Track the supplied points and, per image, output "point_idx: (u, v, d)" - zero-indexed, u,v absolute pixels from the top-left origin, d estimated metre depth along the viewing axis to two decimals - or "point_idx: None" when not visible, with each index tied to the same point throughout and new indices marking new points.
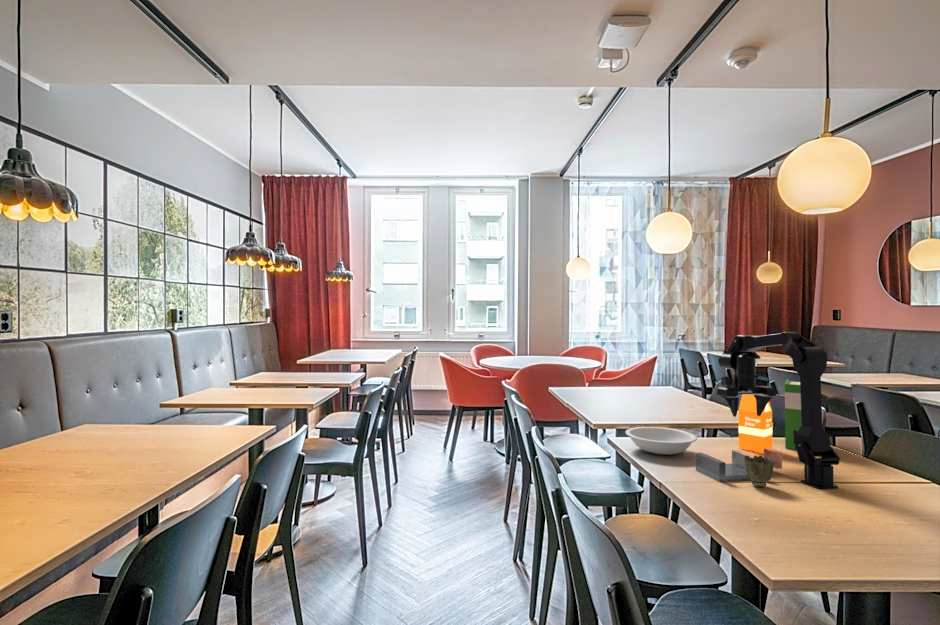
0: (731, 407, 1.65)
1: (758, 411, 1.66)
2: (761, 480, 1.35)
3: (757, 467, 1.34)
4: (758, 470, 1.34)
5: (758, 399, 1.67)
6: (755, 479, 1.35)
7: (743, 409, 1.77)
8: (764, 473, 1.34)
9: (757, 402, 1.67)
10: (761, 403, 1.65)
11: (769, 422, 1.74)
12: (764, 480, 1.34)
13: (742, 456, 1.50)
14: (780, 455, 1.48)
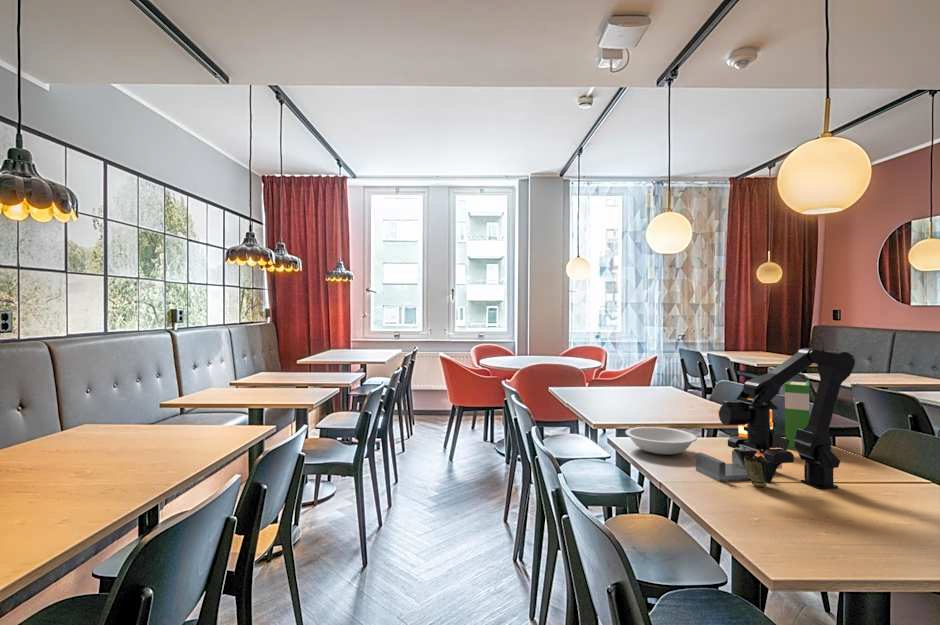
0: None
1: None
2: (761, 480, 1.35)
3: (757, 467, 1.34)
4: (758, 470, 1.34)
5: None
6: (755, 479, 1.35)
7: None
8: None
9: None
10: None
11: None
12: (764, 480, 1.34)
13: None
14: None
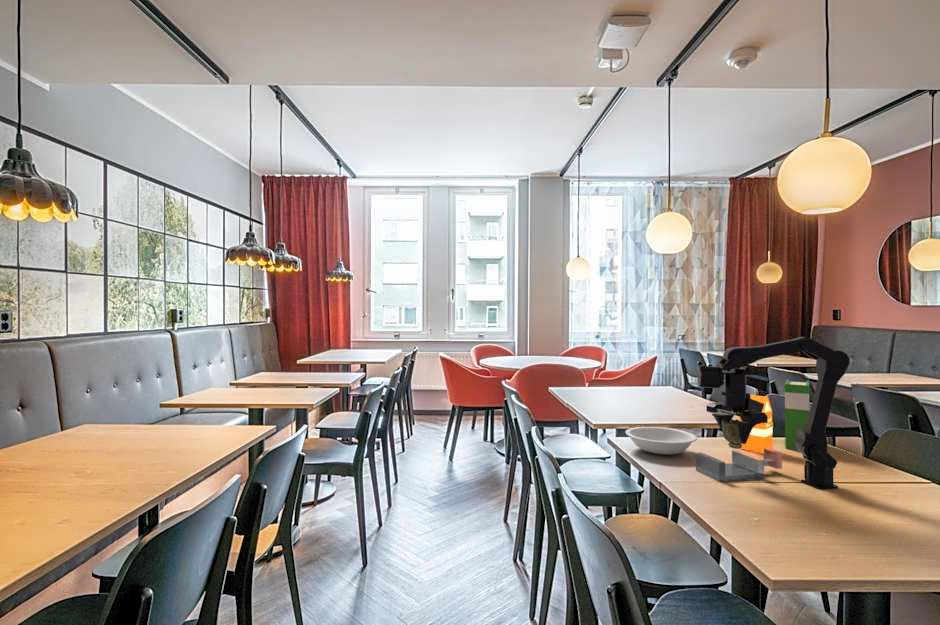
0: None
1: None
2: (737, 441, 1.42)
3: (733, 429, 1.41)
4: (735, 432, 1.41)
5: None
6: (731, 440, 1.42)
7: None
8: None
9: None
10: None
11: (769, 422, 1.74)
12: (740, 441, 1.41)
13: (742, 456, 1.50)
14: (780, 455, 1.48)
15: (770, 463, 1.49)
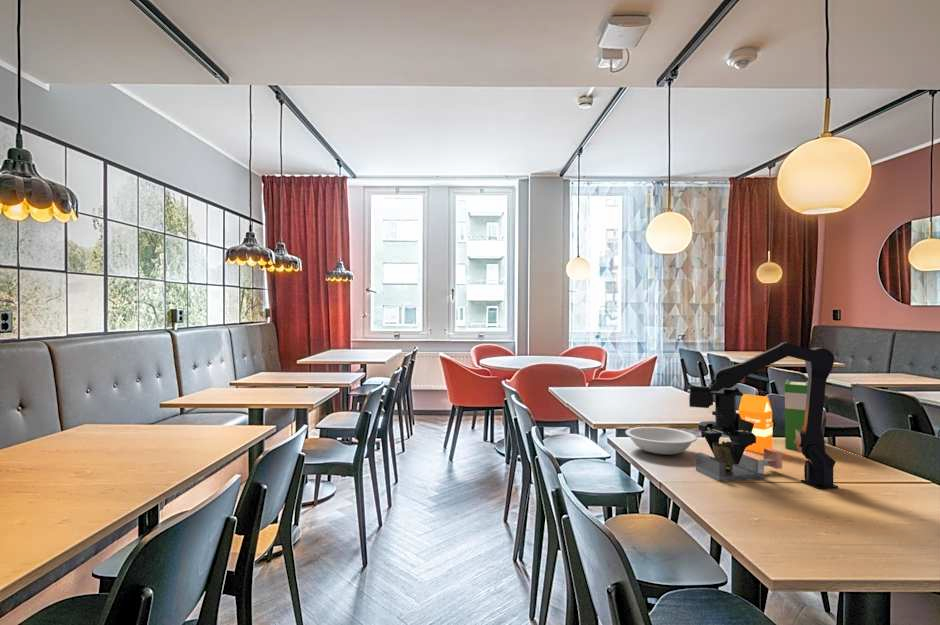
0: None
1: None
2: (727, 463, 1.45)
3: (723, 452, 1.45)
4: (725, 454, 1.45)
5: None
6: None
7: (743, 409, 1.77)
8: (730, 457, 1.44)
9: None
10: None
11: (769, 422, 1.74)
12: (730, 463, 1.45)
13: (742, 456, 1.50)
14: (780, 455, 1.48)
15: (770, 463, 1.49)
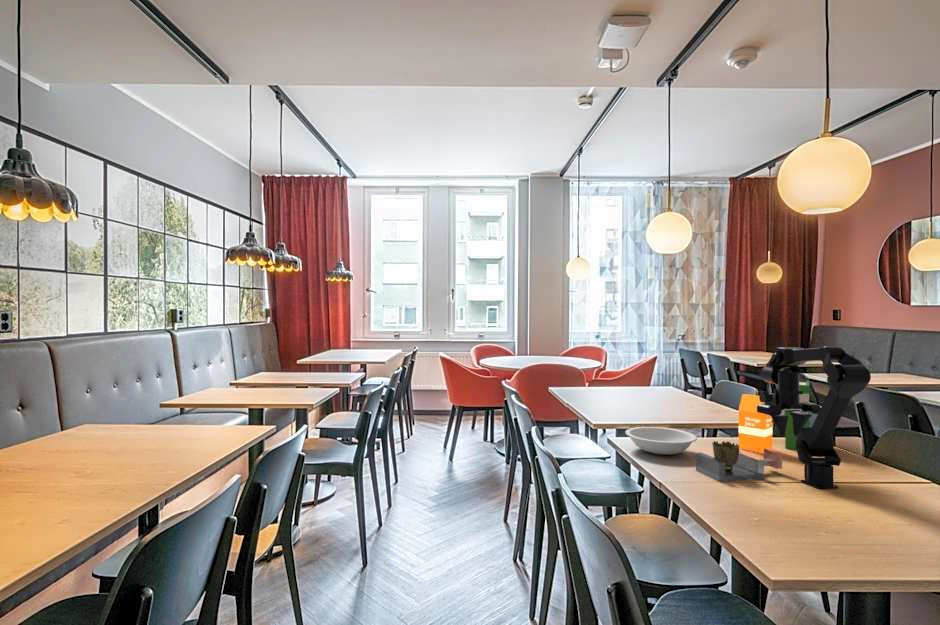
0: (779, 426, 1.51)
1: (795, 431, 1.52)
2: (727, 463, 1.45)
3: (723, 452, 1.45)
4: (725, 454, 1.45)
5: (795, 417, 1.53)
6: None
7: (743, 409, 1.77)
8: (730, 457, 1.44)
9: (794, 420, 1.53)
10: (798, 421, 1.51)
11: (769, 422, 1.74)
12: (730, 463, 1.45)
13: (742, 456, 1.50)
14: (780, 455, 1.48)
15: (770, 463, 1.49)
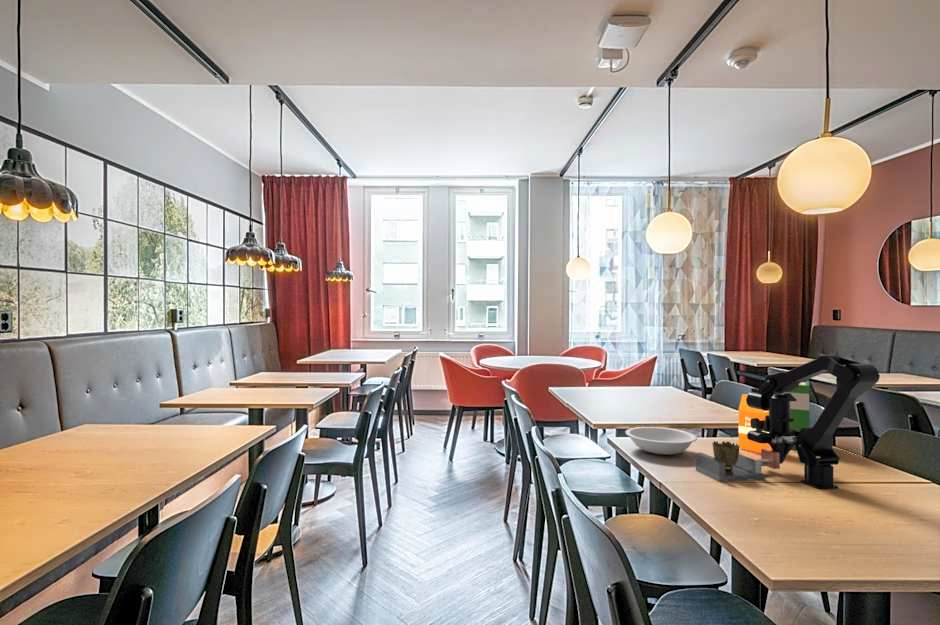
0: None
1: None
2: (727, 463, 1.45)
3: (723, 452, 1.45)
4: (725, 454, 1.45)
5: None
6: None
7: (743, 409, 1.77)
8: (730, 457, 1.44)
9: None
10: None
11: None
12: (730, 463, 1.45)
13: (739, 456, 1.50)
14: (777, 455, 1.48)
15: (768, 463, 1.49)
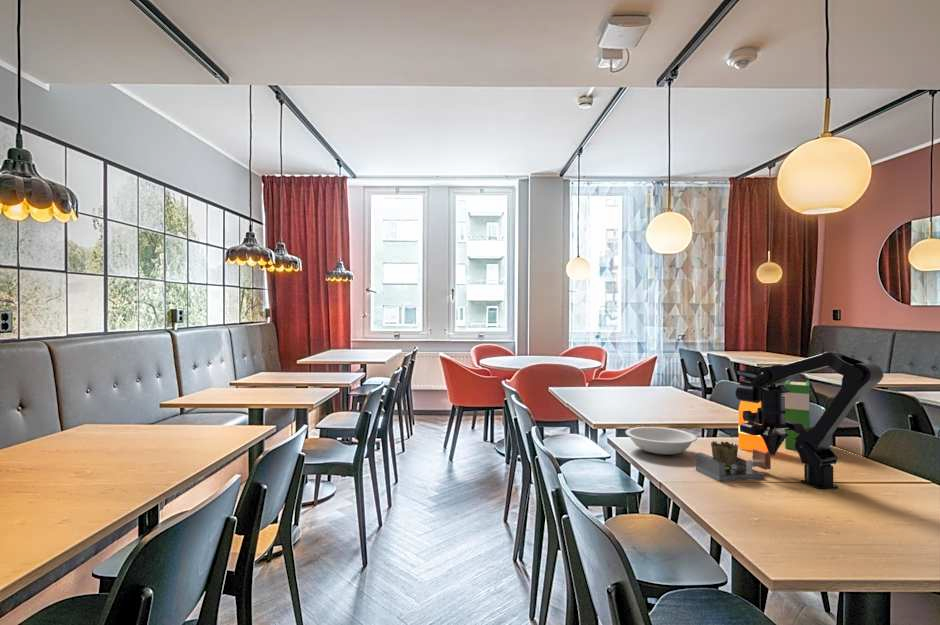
0: (768, 445, 1.50)
1: None
2: (726, 464, 1.45)
3: (722, 452, 1.45)
4: (723, 454, 1.45)
5: None
6: None
7: (743, 409, 1.77)
8: (728, 457, 1.44)
9: None
10: (775, 441, 1.50)
11: None
12: (728, 464, 1.45)
13: None
14: (768, 456, 1.47)
15: (759, 464, 1.49)
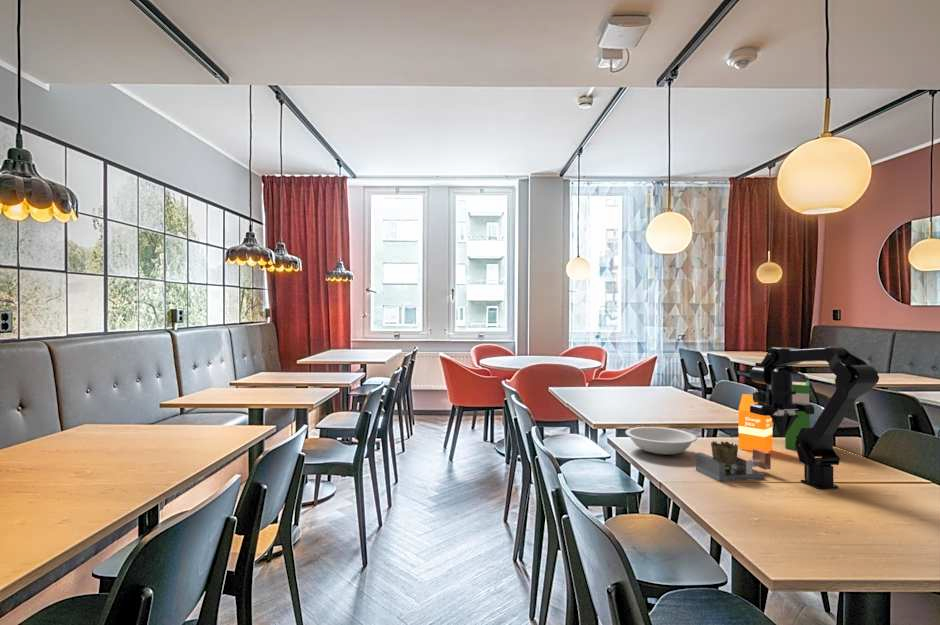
0: (778, 426, 1.51)
1: None
2: (726, 464, 1.45)
3: (722, 452, 1.45)
4: (723, 454, 1.45)
5: None
6: None
7: (743, 409, 1.77)
8: (728, 457, 1.44)
9: None
10: None
11: (769, 422, 1.74)
12: (728, 464, 1.45)
13: None
14: (768, 456, 1.47)
15: (759, 464, 1.49)
